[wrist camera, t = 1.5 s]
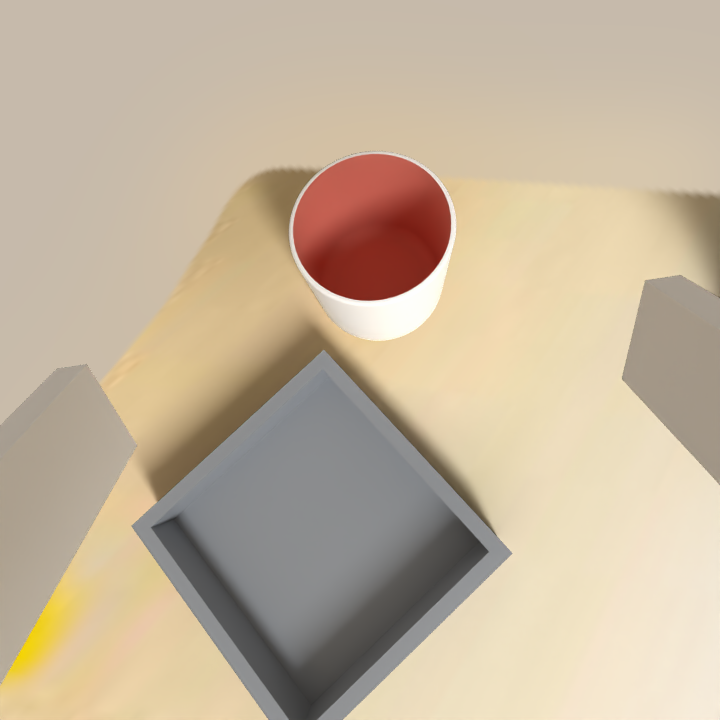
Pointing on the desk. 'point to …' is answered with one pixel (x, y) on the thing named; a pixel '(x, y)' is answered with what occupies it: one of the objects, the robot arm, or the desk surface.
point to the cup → (374, 242)
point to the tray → (318, 547)
